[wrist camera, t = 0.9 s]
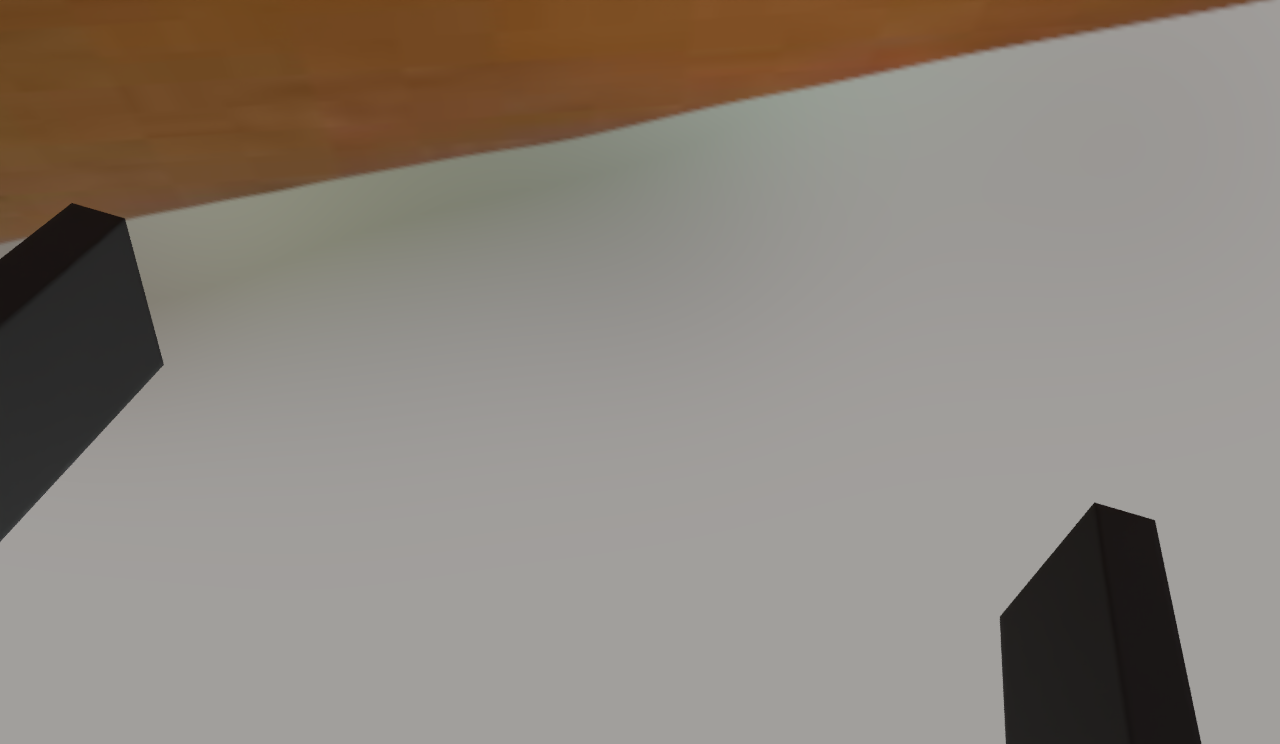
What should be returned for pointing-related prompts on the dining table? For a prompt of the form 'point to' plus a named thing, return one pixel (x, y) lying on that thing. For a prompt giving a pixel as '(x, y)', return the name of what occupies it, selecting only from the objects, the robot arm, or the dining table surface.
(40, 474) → the robot arm
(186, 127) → the dining table surface
